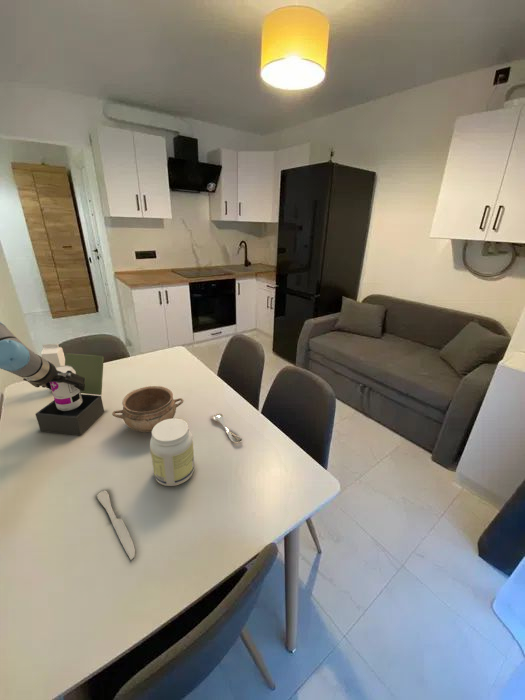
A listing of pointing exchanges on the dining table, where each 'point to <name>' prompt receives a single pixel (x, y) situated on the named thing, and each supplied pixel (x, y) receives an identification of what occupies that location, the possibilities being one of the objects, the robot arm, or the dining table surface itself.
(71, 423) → the bin
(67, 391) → the supplement can
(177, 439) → the supplement tub
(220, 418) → the silver spoon
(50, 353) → the milk
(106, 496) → the butter knife
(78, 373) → the bin lid
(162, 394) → the cooking pot
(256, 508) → the dining table surface
